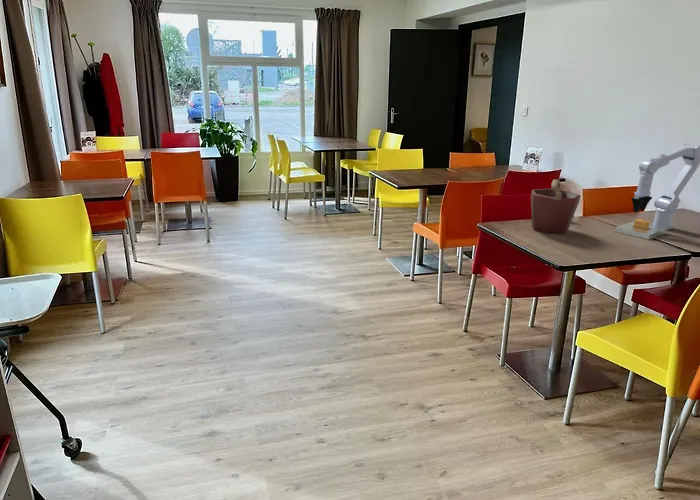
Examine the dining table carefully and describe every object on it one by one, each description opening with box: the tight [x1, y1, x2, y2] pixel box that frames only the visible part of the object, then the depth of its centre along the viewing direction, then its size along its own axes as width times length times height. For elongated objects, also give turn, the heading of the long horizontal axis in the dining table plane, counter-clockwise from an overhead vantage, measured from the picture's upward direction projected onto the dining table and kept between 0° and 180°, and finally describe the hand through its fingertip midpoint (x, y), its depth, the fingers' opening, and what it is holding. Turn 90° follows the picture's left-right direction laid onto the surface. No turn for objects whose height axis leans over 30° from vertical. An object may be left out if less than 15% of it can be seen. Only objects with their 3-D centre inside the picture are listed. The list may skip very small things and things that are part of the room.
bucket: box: [530, 179, 581, 235], centre depth 250 cm, size 24×22×25 cm
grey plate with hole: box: [615, 220, 668, 240], centre depth 254 cm, size 20×16×2 cm
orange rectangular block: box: [634, 218, 651, 230], centre depth 254 cm, size 4×6×6 cm
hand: (638, 211), depth 258 cm, fingers open, 7 cm apart
